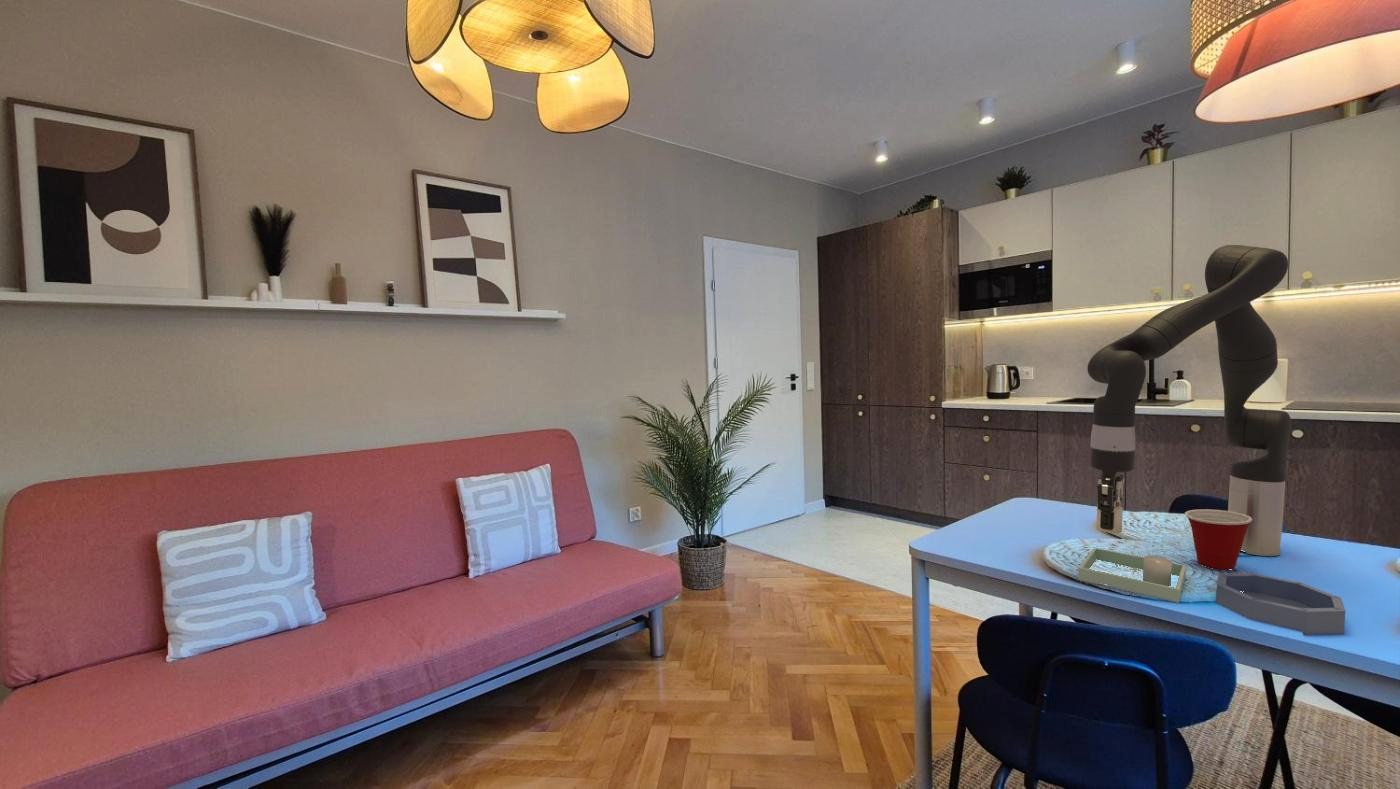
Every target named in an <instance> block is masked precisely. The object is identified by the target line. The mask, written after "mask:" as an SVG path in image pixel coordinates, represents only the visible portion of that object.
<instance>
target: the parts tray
mask: <svg viewBox="0 0 1400 789" xmlns="http://www.w3.org/2000/svg"><path fill="white" fill-rule="evenodd" d="M1088 553H1089V554H1087V556H1086V557H1085V559H1083V562H1081V563H1080V565H1079V567H1078V570H1077V572H1078V574H1077V580H1078V581H1081V582H1086V583H1090V584H1095V585H1098V584H1099V583H1102V584H1107V585H1108V588H1110V589H1117V590H1120V591H1125V592H1128V593H1129V592H1130V593H1133V594H1138V595H1143V596H1146V597H1151V598H1156V599H1159V600H1164V601H1169V602H1172V603H1177V604H1179V603H1180V599H1181V596H1182V593H1181V591H1182V592H1183V589H1182V588H1184V585H1183V584H1185V582H1184V581H1186V578H1185V577H1187V564H1183V563H1182V564H1181V563H1180V564H1179V563H1175V562H1172V571H1171V574H1172V575H1177V576H1179V578H1178V582H1177V585H1176V588H1174V587H1169V586H1164V585H1160V584H1155V583H1151V582H1146V581H1141V580H1137V579H1132V578H1128V577H1123V576H1118V575H1114V574H1109V573H1105V572H1100V571H1095V570H1091V569H1089V568H1090V567H1091V566H1092V564H1093V563H1094V562H1096V561H1095V560H1096V559H1097V560H1101V561H1106V562H1112V563H1115V565H1116V567H1118V565H1117V564H1119V566H1121V565H1123V567H1125V566H1128V567H1131V568H1133V569H1130V570H1134V571H1133V572H1137V571H1136V570H1138V571H1141V570H1139V569H1142V570H1143V568H1144V557H1145V556H1140V555H1134V554H1130V553H1124V552H1120V551H1114V550H1110V549H1103V548H1098V547H1093V548H1092V549H1091V550H1090V552H1088ZM1124 565H1125V566H1124ZM1128 567H1127V568H1128ZM1137 568H1138V569H1137ZM1117 569H1118V568H1117ZM1138 573H1139V572H1138ZM1133 574H1134V573H1133ZM1110 586H1111V587H1110Z"/></svg>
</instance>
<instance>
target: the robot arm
mask: <svg viewBox="0 0 1400 789" xmlns="http://www.w3.org/2000/svg"><path fill="white" fill-rule="evenodd" d="M1288 269H1289V259H1288V256H1287V255H1286V254H1285V253H1284V252H1282V251H1280V250H1277V249H1273V248H1267V247H1259V246H1252V245H1251V246H1249V245H1244V244H1243V245H1242V244H1226V245H1223V246H1220V247H1218V248H1217V249H1215V250H1214V251H1213V252H1212V253H1211V254H1210V255H1209V257H1208V259H1207V261H1206V264H1205V268H1204V282H1205V286H1206V289H1207V293H1206V294H1204V295H1201V296H1198V297H1196V298H1192V299H1189V300H1187V301H1184V302H1180V303H1178V304H1176V305H1173V306H1170V307H1168V308H1166V309H1164V310H1162V311H1161V312H1159V313H1157V314H1155V315H1154V316H1152V317H1151V318H1150V319H1148V320H1147V321H1146V322H1145V323H1143V324H1142V325H1141V326H1139V327H1138V328H1137V329H1135V330H1134V331H1133V332H1130V333H1129V334H1127V335H1125V336H1123V337H1121V338H1119V339H1117V340H1115V341H1114V342H1111V343H1110V344H1107V345H1106V346H1104V347H1102V348H1101V349H1099V350H1098V351H1096V353H1094V354H1093V356H1092V357H1091V358H1090V360H1089V361H1088V364H1087V367H1086V368H1087V373H1088V375H1089V377H1090V378H1091V379H1092V380H1093V381H1095V382H1097V383H1100V384H1107V388H1106V392H1105V395H1103V396H1102V395H1101V396H1099V397H1097V398H1096V399H1095V400H1094V401H1093V402H1094V403H1093V410H1092V411H1093V414H1092V415H1093V417H1092V428H1091V432H1090V433H1091V434H1090V450H1089V451H1090V457H1089V466H1090V467H1091V468H1092V469H1096V470H1100V471H1101V472H1102V473H1101V474H1100V477H1098V478H1097V486H1096V488H1097V505H1098V510H1100V511H1101V520H1100V527H1101V528H1102V529H1106V530H1113V528H1114V512H1115V505H1118V506H1121V502H1122V501H1123V494H1124V493H1123V491H1124V490H1123V489H1124V487H1123V486H1124V484H1125V475H1124V474H1123V473H1129V472H1132V471H1133V470H1134V469H1135V457H1136V456H1135V454H1136V431H1135V430H1136V429H1135V424H1136V423H1135V422H1136V420H1135V419H1136V405H1137V403H1138V401H1139V398H1140V395H1141V391H1142V390H1143V386H1144V384H1145V379H1146V376H1147V367H1146V364H1145V362H1146V361H1150V360H1156V359H1160V357H1163V356H1164V355H1166V354H1167V353H1168V352H1170V351H1171V350H1173V349H1174V348H1175V347H1177V346H1178V345H1180V343H1182V342H1183V341H1185V340H1186V339H1187V338H1189V337H1190V336H1192V335H1193V334H1195V333H1197V331H1199V330H1201V329H1203V328H1204V327H1206V326H1208V325H1209V324H1212V323H1215V324H1214V325H1215V329H1216V330H1215V331H1216V337H1217V349H1218V350H1217V352H1218V361H1219V368H1220V373H1221V378H1222V379H1221V380H1222V389H1223V399H1224V400H1223V402H1224V403H1223V404H1224V405H1223V409H1224V410H1223V412H1224V413H1223V417H1224V419H1223V420H1224V424H1223V426H1224V436H1225V439H1226V441H1227V443H1228V444H1229V445H1231V446H1233V447H1238V448H1242V449H1243V448H1245V449H1246V448H1247V449H1255V450H1256V449H1257V450H1265V451H1267V453H1266V454H1265V455H1263V456H1262V457H1259V458H1255V459H1251V460H1244V461H1238V462H1236V461H1235V463H1232V464H1231V467H1230V472H1229V473H1230V474H1229V489H1228V490H1229V492H1228V505H1227V506H1228V508H1227V511H1231V512H1237V513H1241V514H1245V515H1247V516H1250V517H1251V518H1252V522H1250V523H1249V525H1248V528H1247V531H1246V534H1245V537H1244V540H1243V544H1242V547H1241V550H1243V551H1245V552H1246V553H1245V554H1247V555H1248V554H1249V555H1254V556H1255V555H1256V556H1262V557H1278V556H1280V554H1281V547H1282V546H1281V544H1282V533H1283V522H1284V521H1283V520H1284V519H1283V518H1284V506H1285V490H1286V475H1287V461H1288V454H1289V453H1288V451H1289V445H1290V440H1291V439H1290V438H1291V434H1292V433H1291V432H1292V420H1291V416H1290V414H1289V413H1288V412H1287V411H1285V410H1278V409H1263V408H1262V409H1257V408H1247V407H1245V404H1246V403H1247V401H1248V400H1249V398H1250V397H1252V395H1253V394H1254V393H1255V392H1256V391H1257V390H1258V389H1259V388H1261V387H1262V386H1263V385H1264V384H1265V383H1266V382H1267V381H1268V380H1269V379H1270V378H1271V377H1272V375H1274V374H1275V372H1276V370H1277V368H1278V365H1279V364H1278V362H1279V360H1278V345H1277V339H1276V337H1275V335H1274V332H1273V331H1272V330H1271V328H1270V327H1269V325H1268V324H1267V323H1266V322H1265V320H1264V318H1262V316H1261V315H1260V314H1259V313H1258V311H1256V310H1255V308H1254V307H1253V305H1252V304H1251V303H1252V302H1253V301H1255V300H1256V299H1259V298H1261V297H1263V296H1264V295H1266V294H1268V293H1270V291H1273V289H1274V288H1276V287H1278V286H1279V284H1280V283H1281V282H1282V280H1283V279H1284V278H1285V276H1286V274H1287V272H1288ZM1104 504H1110V506H1109V505H1104Z"/></svg>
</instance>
